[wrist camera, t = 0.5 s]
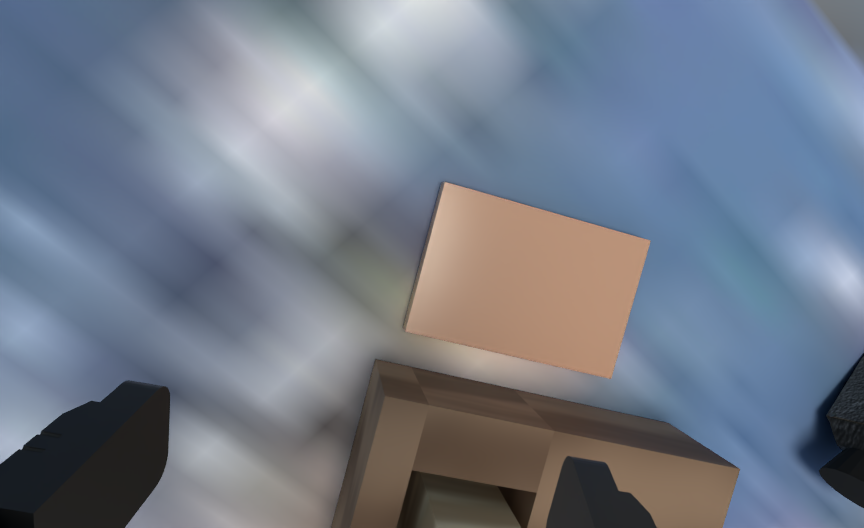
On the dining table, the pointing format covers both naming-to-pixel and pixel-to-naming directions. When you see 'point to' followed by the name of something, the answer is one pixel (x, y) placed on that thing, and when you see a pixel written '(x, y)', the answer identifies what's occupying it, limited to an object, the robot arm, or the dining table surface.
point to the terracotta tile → (525, 282)
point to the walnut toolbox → (518, 451)
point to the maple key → (453, 504)
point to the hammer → (848, 439)
